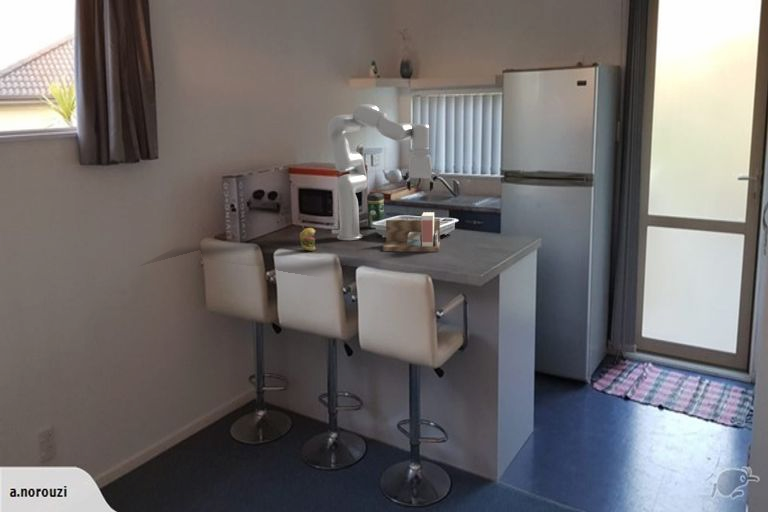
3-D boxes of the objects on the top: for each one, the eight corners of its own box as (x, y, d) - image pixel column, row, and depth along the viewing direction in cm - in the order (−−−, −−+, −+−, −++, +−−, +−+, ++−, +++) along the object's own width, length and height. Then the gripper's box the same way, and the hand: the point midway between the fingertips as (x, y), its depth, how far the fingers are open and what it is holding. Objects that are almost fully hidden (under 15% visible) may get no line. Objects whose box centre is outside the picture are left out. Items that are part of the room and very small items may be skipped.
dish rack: (400, 227, 348) (399, 212, 346) (462, 233, 329) (462, 218, 327) (367, 238, 322) (367, 222, 320) (433, 246, 303) (433, 229, 301)
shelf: (383, 251, 294) (382, 225, 291) (386, 244, 306) (386, 219, 304) (438, 251, 290) (438, 225, 288) (439, 245, 303) (439, 220, 300)
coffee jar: (373, 225, 354) (372, 191, 350) (386, 226, 351) (386, 192, 346) (365, 228, 346) (364, 193, 342) (378, 229, 342) (377, 194, 338)
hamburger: (316, 252, 294) (315, 226, 292) (300, 253, 294) (298, 227, 291) (316, 248, 302) (315, 223, 299) (300, 249, 301) (299, 223, 298)
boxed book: (421, 246, 292) (421, 215, 289) (423, 242, 301) (423, 212, 298) (432, 246, 292) (432, 215, 288) (434, 242, 300) (434, 212, 297)
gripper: (400, 152, 287) (400, 191, 291) (439, 153, 285) (438, 192, 289) (402, 151, 294) (402, 188, 298) (440, 151, 292) (439, 189, 296)
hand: (420, 190), depth 294 cm, fingers open, 9 cm apart
